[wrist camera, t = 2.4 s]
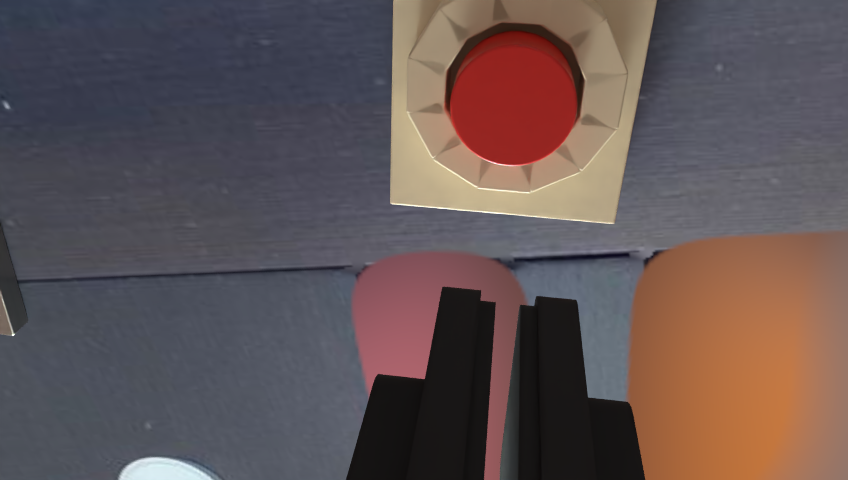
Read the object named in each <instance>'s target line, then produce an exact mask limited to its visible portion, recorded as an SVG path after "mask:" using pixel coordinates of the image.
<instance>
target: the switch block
mask: <svg viewBox="0 0 848 480" xmlns="http://www.w3.org/2000/svg"><path fill="white" fill-rule="evenodd" d="M656 3H657V0H393V51H392V116H391V182H390V203H391V204H398V205H409V206H420V207H432V208H443V209H454V210H465V211H476V212H487V213H498V214H509V215H521V216H532V217H543V218H554V219H565V220H576V221H587V222H598V223H610V224H614V223H615V218H616V213H617V207H618V202H619V197H620V192H621V186H622V181H623V176H624V171H625V165H626V160H627V155H628V150H629V144H630V139H631V134H632V129H633V124H634V118H635V113H636V108H637V103H638V97H639V92H640V87H641V82H642V76H643V71H644V66H645V61H646V55H647V50H648V45H649V40H650V35H651V29H652V24H653V19H654V14H655V8H656ZM505 31H526V32H531V33H535V34H537V35H540V36H542V37H544V38H546V39H547V40H549V41H551V42H552V43H553V44H554V45H556V46H557V47H558V48H559V50H560V51H561V52H562V53H563V54H564V56H565V57H566V59H567V61H568V63H569V65H570V67H571V70H572V74H573V79H574V84H575V89H576V94H577V114H576V119H575V122H574V125H573V128H572V130H571V132H570V133H569V135H568V137H567V138H566V140H565V141H564V142H563V143H562V144H561V146H560V147H559V148H558V149H556V150H555V151H554V152H553V153H551V154H550V155H548V156H547V157H545V158H543V159H541V160H539V161H537V162H534V163H531V164H526V165H521V166H505V165H498V164H495V163H491V162H489V161H486V160H484V159H482V158H480V157H479V156H477V155H476V154H474V153H473V152H472V151H470V150H469V149H468V148H467V147H466V146H465V145H464V143H463V142H462V141H461V140H460V138H459V136H458V135H457V133H456V131H455V128H454V126H453V123H452V119H451V113H450V100H451V93H452V90H453V86H454V83H455V79H456V76H457V73H458V70H459V67H460V65H461V63H462V61H463V60H464V58H465V57H466V55H467V54H468V53H469V51H470V50H471V49H472V48H473V47H474V46H475V45H477V44H478V43H479V42H481V41H482V40H484V39H486V38H487V37H489V36H492V35H494V34H497V33H501V32H505Z"/></svg>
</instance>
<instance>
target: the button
mask: <svg viewBox="0 0 848 480" xmlns="http://www.w3.org/2000/svg"><path fill="white" fill-rule="evenodd" d="M450 113H451V119H452V123H453V126H454V128H455V131H456V133H457V135H458V136H459V138H460V140H461V141H462V142H463V143H464V145H465V146H466V147H467V148H468V149H469V150H470V151H472V152H473V153H474V154H476V155H477V156H479V157H480V158H482V159H484V160H486V161H489V162H491V163H495V164H498V165H505V166H521V165H526V164H531V163H534V162H537V161H539V160H541V159H543V158H545V157H547V156H548V155H550V154H551V153H553V152H554V151H555V150H556V149H558V148H559V147H560V146H561V144H562V143H563V142H564V141H565V140H566V138H567V137H568V135H569V133H570V132H571V130H572V128H573V125H574V122H575V119H576V114H577V94H576V89H575V84H574V79H573V74H572V70H571V67H570V65H569V63H568V61H567V59H566V57H565V56H564V54H563V53H562V52H561V51H560V50H559V48H558V47H557V46H556V45H554V44H553V43H552V42H551V41H549V40H547V39H546V38H544V37H542V36H540V35H537V34H535V33H531V32H526V31H505V32H501V33H497V34H494V35H492V36H489V37H487V38H486V39H484V40H482V41H481V42H479V43H478V44H477V45H475V46H474V47H473V48H472V49H471V50H470V51H469V53H468V54H467V55H466V57H465V58H464V60H463V61H462V63H461V65H460V67H459V70H458V73H457V76H456V79H455V83H454V86H453V90H452V93H451V100H450Z"/></svg>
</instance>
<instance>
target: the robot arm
mask: <svg viewBox="0 0 848 480" xmlns="http://www.w3.org/2000/svg"><path fill="white" fill-rule="evenodd" d="M480 298H481V290H472V289H462V288H451V287H442V292H441V297H440V302H439V308H438V313H437V318H436V323H435V329H434V334H433V339H432V345H431V350H430V356H429V361H428V366H427V371H426V376H425V379H417V378H408V377H400V376H390V375H382V374H378V375H377V376H376V378H375V380H374V383H373V386H372V390H371V393H370V397H369V401H368V404H367V408H366V411H365V415H364V418H363V422H362V425H361V429H360V432H359V436H358V439H357V443H356V447H355V450H354V454H353V457H352V461H351V464H350V468H349V471H348V475H347V478H346V480H484V470H485V454H486V440H487V424H488V410H489V395H490V380H491V365H492V364H491V363H492V350H493V335H494V320H495V305H496V303H495V302H487V301H480ZM500 480H645V476H644V470H643V465H642V459H641V454H640V449H639V444H638V438H637V433H636V428H635V422H634V416H633V412H632V409H631V406H630V404H629V403H628V402H623V401H614V400H605V399H596V398H588V394H587V385H586V376H585V367H584V358H583V349H582V340H581V331H580V322H579V312H578V304H577V301H576V300H572V299H562V298H552V297H542V296H536V299H535V305H534V306H527V305H520V308H519V315H518V323H517V331H516V339H515V347H514V355H513V363H512V371H511V379H510V387H509V395H508V403H507V411H506V419H505V427H504V435H503V443H502V452H501V464H500Z"/></svg>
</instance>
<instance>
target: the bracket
mask: <svg viewBox="0 0 848 480" xmlns="http://www.w3.org/2000/svg"><path fill="white" fill-rule="evenodd" d="M27 322H28V318H27V314H26V311H25V307H24V304H23V300H22V297H21V294H20V290H19V287H18V283H17V280H16V276H15V273H14V269H13V266H12V262H11V259H10V256H9V252H8V249H7V245H6V242H5V238H4V235H3V231H2V228H1V224H0V334H3V335H15V334H16V333H17V332H18V331H19V330H20V329H21V328H22V327H23V326H24V325H25V324H26V323H27Z"/></svg>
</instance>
